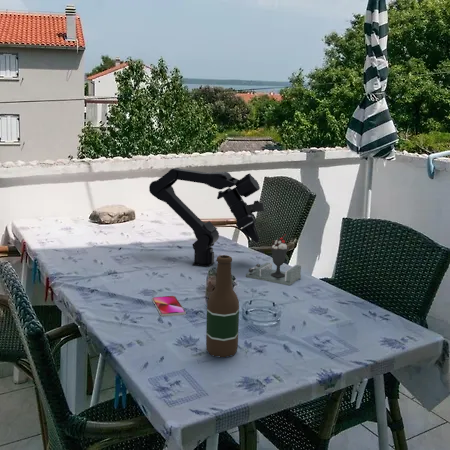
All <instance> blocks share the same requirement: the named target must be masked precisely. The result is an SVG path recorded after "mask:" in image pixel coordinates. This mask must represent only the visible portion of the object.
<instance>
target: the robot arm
mask: <svg viewBox="0 0 450 450" xmlns="http://www.w3.org/2000/svg"><path fill="white" fill-rule="evenodd" d="M177 181H185V182H192V183H198V184H204V185H207V186H208V187H210V188H213V189H217V190H220V191H218V192H217V193H218V194H217V197H216V199H217V200H220V199H222V198H223V200H224V201H225V203H226V204H227V207H228V208H229V210H230V212H231V213H232V215H233V217H234V218H235V221H236V228H238V230H240V232H242V233H243V234H245V236H246V237H248V238H249V239H251V240H252V241H253V242H255V243H256V244H258V243H259V242H260V239H261V238H260V235H259V233H258V230H257V228H256V223H257V218H256V217H257V216H255V214H254V213H258V212H265V205H264V202H263V201H259V200H254V201H253V203H251V204H247V202H245V201H244V199H243V198H248V197H249V196H251V195H253V194H254V193H256V192H258V191H259V190H260V188H261V187H260V184H259V182H258V180H256V178H254V177H253V176H252V174H251V173H248V174H245V175H244V176H243V177H242V178H239V179H238V178H236V177H234V176H232V175H231V174H230V172H228V171H215V172H214V171H213V172H204V171H198V170H191V169H183V168H180V167H174V168H170V170H169V171H168V172H166V173H165V174H163V175H162V176H161V177H160V178H158V179H157V180H152V181H151V183H150V184H149V190H148V191H149V193H150V195H152V196H154V198H155V199H157V200H159V201H161V202H163V203H165V204H166V205H168V206H169V207H170V209H172V210H173V211H174V213H175V214H176V215H178V216H179V218H181V219H182V221H184V222H185V224H186V225H188V226H189V227H190V229H192V231H193V234H194V237H195V239H196V240H195V241H194V242H193V243H192V245H191V246H192V248H193V251H194V252H193V253H194V260H193V261H194V262H192V266H199V267H200V266H201V267H211V265H213V264H214V263H215V252H214V246H215V243H217V242H218V240H219V239H220V238H219V237H220V233H219V231H218V227H216V226H215V225H213V223H212V222H211V221H210V220H209V221H207V222H204V221H202V219H200V217H198V215H197V214H195V212H193V210H191V209H190V208H189V207H188V206H187V205H186V203H184V202H183V200H182V199H180V197H179V196H177V195H176V191H175V189H174V187H173V185H174V184H175V183H176V182H177ZM234 186H235V187H234ZM232 187H233V188H232ZM223 189H224V190H223ZM222 190H223V191H222Z"/></svg>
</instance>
